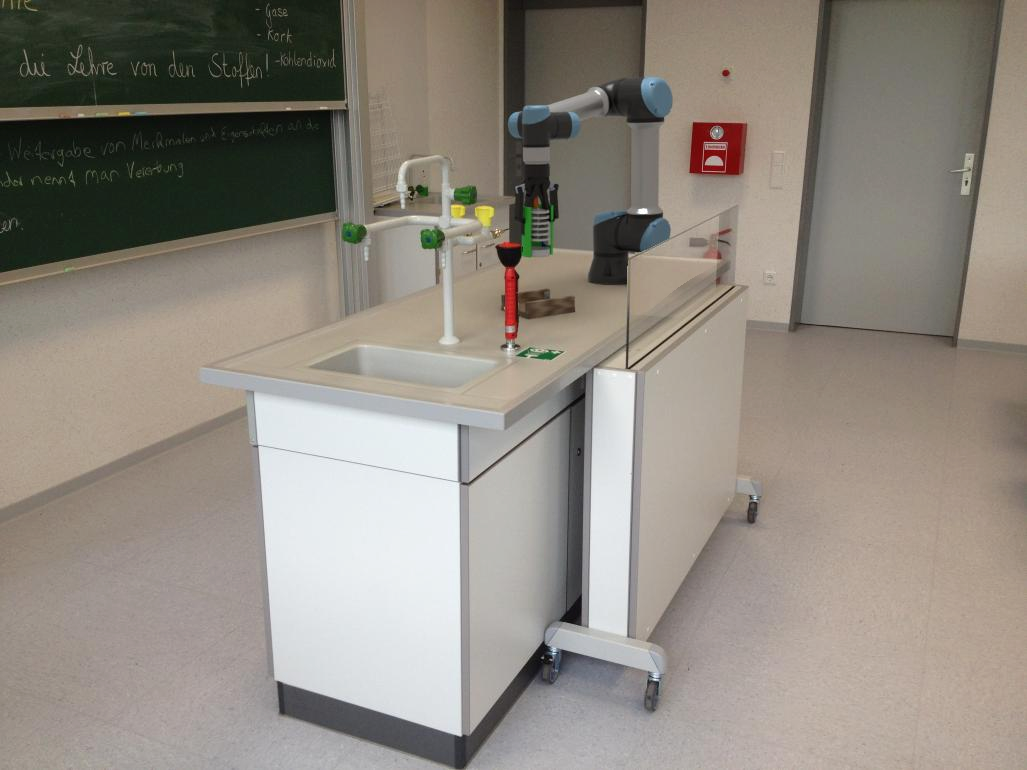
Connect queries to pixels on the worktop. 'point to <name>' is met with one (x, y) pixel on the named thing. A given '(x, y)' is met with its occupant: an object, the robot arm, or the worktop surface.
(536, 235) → the green-shelled ribbed roller
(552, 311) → the housing
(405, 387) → the worktop surface
